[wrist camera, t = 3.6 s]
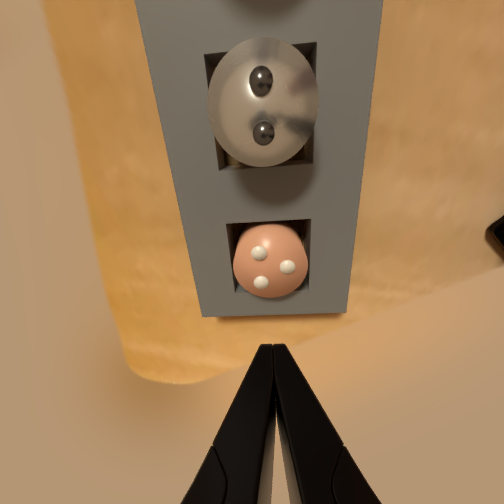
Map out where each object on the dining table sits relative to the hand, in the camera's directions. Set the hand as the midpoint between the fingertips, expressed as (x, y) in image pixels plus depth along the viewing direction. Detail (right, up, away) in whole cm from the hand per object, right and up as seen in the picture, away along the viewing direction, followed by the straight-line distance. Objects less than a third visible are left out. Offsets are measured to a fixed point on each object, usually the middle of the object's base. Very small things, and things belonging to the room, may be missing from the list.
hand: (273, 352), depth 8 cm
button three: (0, +4, +9) cm, 9 cm away
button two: (0, +10, +4) cm, 11 cm away
